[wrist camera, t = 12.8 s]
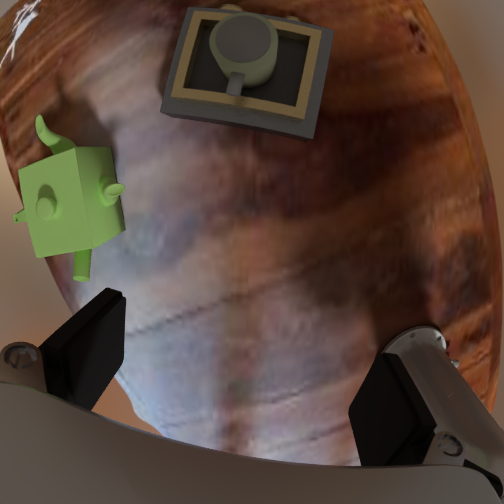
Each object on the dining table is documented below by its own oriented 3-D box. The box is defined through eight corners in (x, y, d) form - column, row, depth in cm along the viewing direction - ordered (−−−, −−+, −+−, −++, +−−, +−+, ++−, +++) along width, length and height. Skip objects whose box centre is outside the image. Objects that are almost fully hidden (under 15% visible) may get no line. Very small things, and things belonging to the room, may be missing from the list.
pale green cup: (280, 46, 26) (284, 16, 19) (265, 110, 28) (265, 95, 21) (228, 37, 26) (217, 6, 19) (211, 100, 28) (195, 84, 21)
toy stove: (327, 37, 30) (339, 14, 23) (305, 141, 34) (316, 137, 27) (199, 15, 29) (187, -9, 23) (172, 117, 34) (153, 109, 27)
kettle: (82, 119, 34) (30, 112, 23) (163, 171, 36) (125, 179, 25) (41, 212, 37) (-10, 230, 27) (110, 266, 40) (69, 301, 29)
